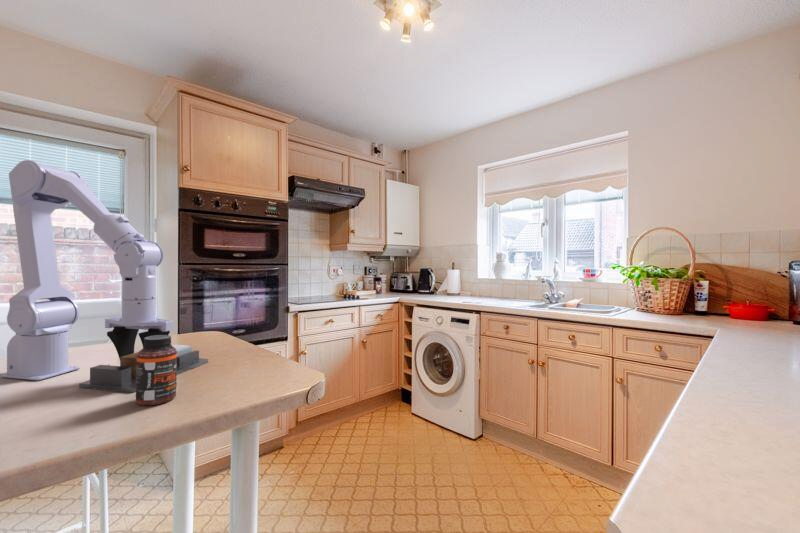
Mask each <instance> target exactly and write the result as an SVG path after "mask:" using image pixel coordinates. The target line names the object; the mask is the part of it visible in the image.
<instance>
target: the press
mask: <svg viewBox="0 0 800 533" xmlns="http://www.w3.org/2000/svg"><path fill="white" fill-rule="evenodd" d="M208 363H209V358H201V357H200V350H192V352H189V353H187V354H184V355H181V356H178V357H177V376H178V375H180V374H183V373H185V372H187V371H190V370H192V369H194V368H198V367H199V366H200V367H201V366H203V365H204V364H208ZM78 388H79V389H80V388H81V389H91V390H99V389H100V390H102V391H110V392H111V391H113V392H122V393H123V392H124V393H136V378H131V367H122V366H120V365H108V364H99V365H98V364H97V365H95V366H93V367H89V380H86V381H82V382H79V383H78Z"/></svg>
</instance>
